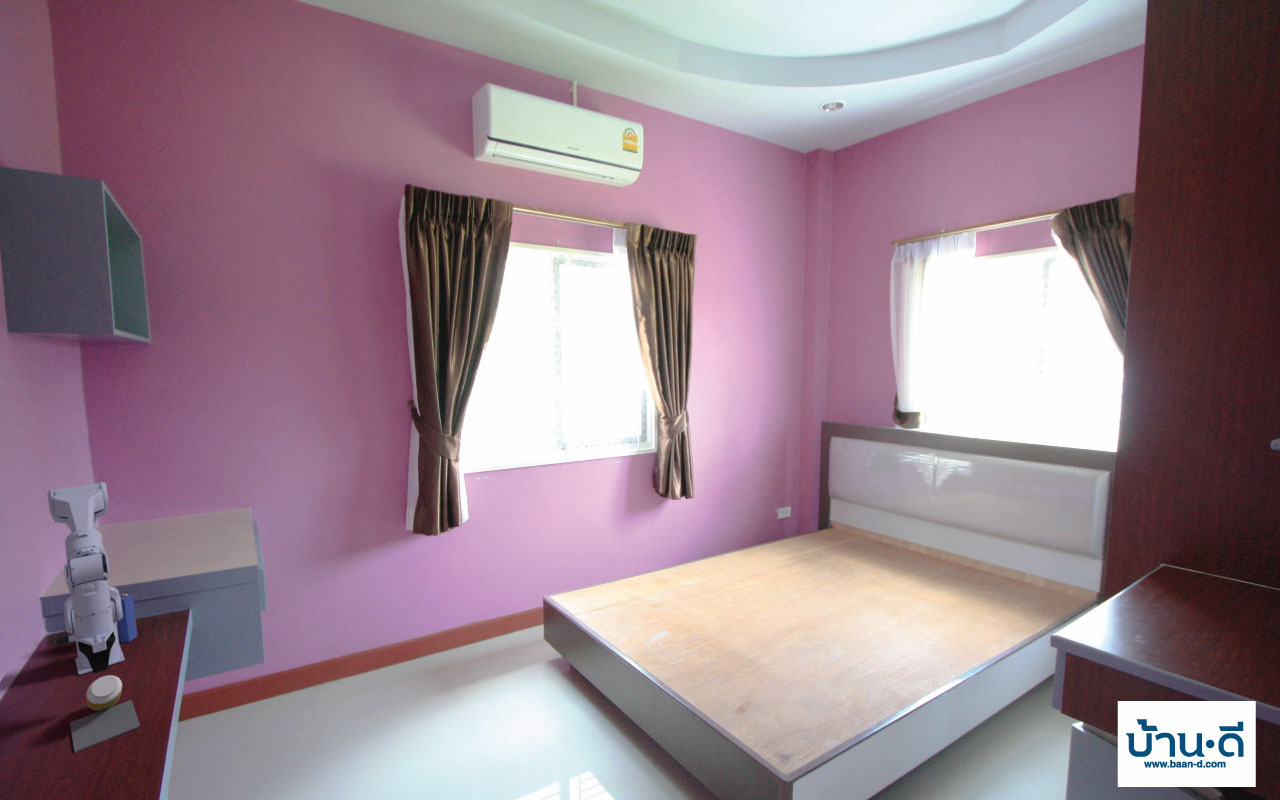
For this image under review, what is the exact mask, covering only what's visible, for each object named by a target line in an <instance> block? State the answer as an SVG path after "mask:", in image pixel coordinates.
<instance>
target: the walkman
mask: <svg viewBox="0 0 1280 800" xmlns="http://www.w3.org/2000/svg"><path fill="white" fill-rule="evenodd" d="M119 596H120V599H121V605H122V613H123V617H122V618H121V620H119V621H118V620H117V632H118V640H119V643H130V642H131V641H133V640H134V639H135V638H137V637H138V630H137V621H136V614H135V613H136V612H135V603H134V596H133V594H129V593H122V594H121V595H120V594H119Z"/></svg>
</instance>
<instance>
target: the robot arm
mask: <svg viewBox="0 0 1280 800" xmlns="http://www.w3.org/2000/svg"><path fill="white" fill-rule="evenodd" d="M107 488H108V487H107V483H105V482H104V481H100V482H95V483H87V484H82V485H75V486H68V487H61V488H55V489H54V488H50V489H49V490H48V491H47V501H48V508H49V514H50V515H51V518H52V520H54V523H57V524H59V523H60V524H65V525H66V526H67V528H69V531H70V534H68V535H67V536H66V538H65V539H64V544H65V545H64V546H65V557H66V562H64V565H63V569H64V577H65V583H66V585H67V589H68V592H69V597H68V598H67V599H66V600H65V602H64V603H63V607H64V608H63V609H64V610H63V616H64V624H65V631H66V633H67V634H70V635H69V636H68V642H70V643H71V642H75V643H76V650H77V657H76V658H75V663H76V669H77V674H78V675H84V674H87V673H91V672H92V673H93V674H98V673H101V672H105V671H106V670H108V668H109V666H112V665H114V664H118V663H122V662H124V661H125V657H124V653H123V651H122V647H121V645H120V642H119V640H118V632H117V620H118V621H119V620H121V618H122V617H123V613H122V605H121V599H120V596H119V595H120V591H119V589H117V588H116V587H114V586H110V585H109V579H110V574H111V573H110V570H111V569H110V565H109V558H108V557H109V556H108V554H107V552H106V549H105V548H104V543H103V541H104V540H103V536H102V533H101V532H100V531H99V530H98V529H96V524H97V521H98V519H99V517H102V516H104V515H106V514H107V513H108V511H109V495H108V490H107ZM105 573H106V574H107V576H105V575H104V574H105Z"/></svg>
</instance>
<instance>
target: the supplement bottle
mask: <svg viewBox="0 0 1280 800" xmlns="http://www.w3.org/2000/svg"><path fill="white" fill-rule="evenodd" d="M122 690H123V682H122V680H121V678H120V677H118V676H116V675H111V674H110V675H109V674H108V675H105V676H104V675H103V676H101V677H99V678H97V679H95V680H94V681H93V682H92V683H90V685H89V686H88V688H87V691H86V694H85V695H86V704H87V706H88V708H90V709H91V710H94V711H97V712H100V711H102V710H105V709H108V708H111V707H113V706H115V704H117V703H118V701H119V700H120V699H121V696H122V692H123V691H122Z"/></svg>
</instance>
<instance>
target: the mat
mask: <svg viewBox="0 0 1280 800" xmlns="http://www.w3.org/2000/svg"><path fill="white" fill-rule="evenodd" d="M134 706H135V705H134V703H133V700H132V699H130V700H127V701H124V702H122V703H119V704H116V705H113V706H112V707H110V708H108V709H105V710H99V711H96V712H94V713H93V714H89V715H86V716H84V717H80V718H79V719H76V720H73V721H70V722H69V727H70V732H71V738H72V746H73V751H74V752H73V753H74V754H76V753H78V752H81V751H83V750H85V749H88V748H90V747H93V746H96V745H98V744H100V743H103V742H106V741H108V740H111V739H113V738H115V737H118V736H121V735H124V734H126V733H128V732H130V731H131V732H132V731H133V730H136V729H138V728H141V724H140V722H139V718H138V715H137V712H136V709H135V707H134Z"/></svg>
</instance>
